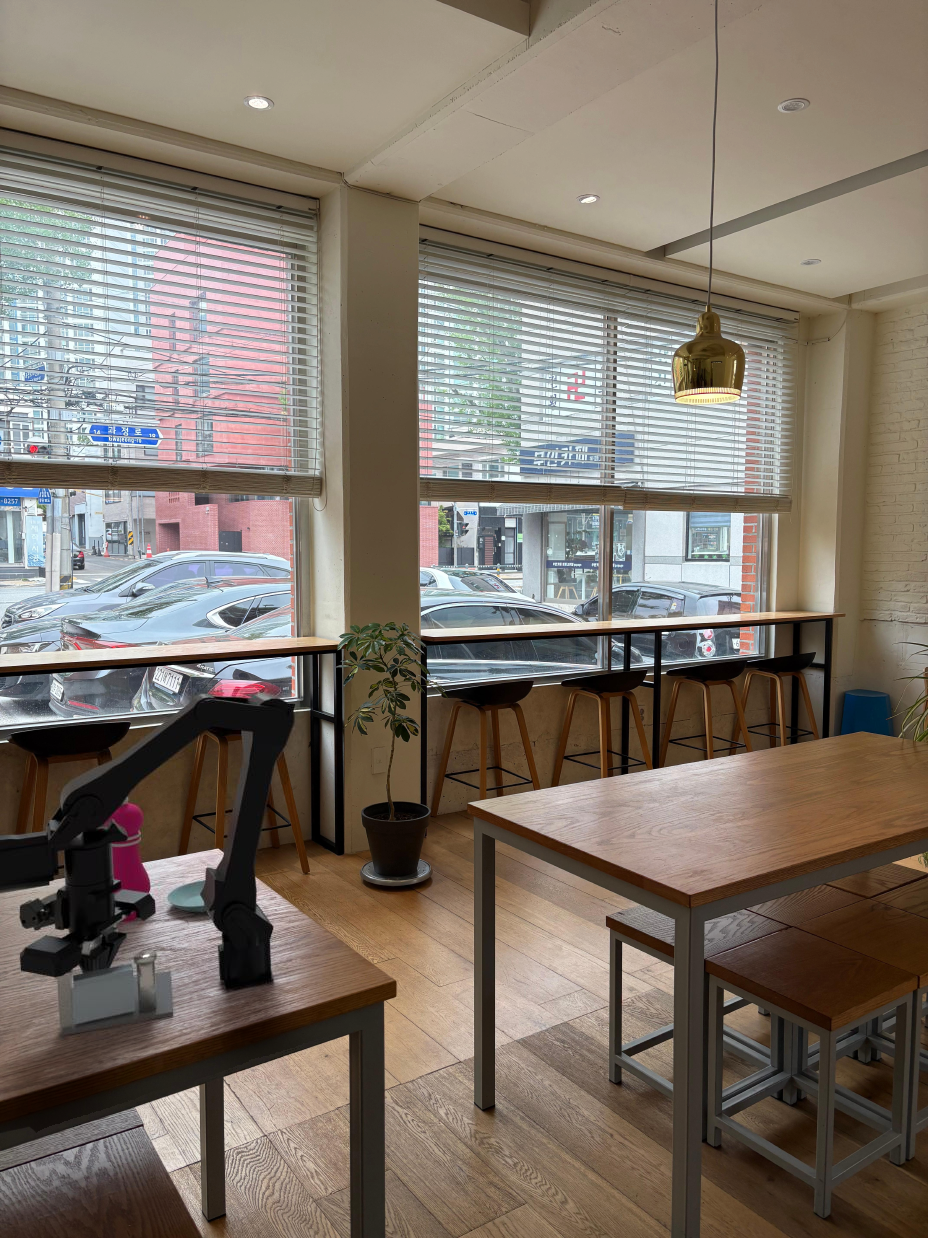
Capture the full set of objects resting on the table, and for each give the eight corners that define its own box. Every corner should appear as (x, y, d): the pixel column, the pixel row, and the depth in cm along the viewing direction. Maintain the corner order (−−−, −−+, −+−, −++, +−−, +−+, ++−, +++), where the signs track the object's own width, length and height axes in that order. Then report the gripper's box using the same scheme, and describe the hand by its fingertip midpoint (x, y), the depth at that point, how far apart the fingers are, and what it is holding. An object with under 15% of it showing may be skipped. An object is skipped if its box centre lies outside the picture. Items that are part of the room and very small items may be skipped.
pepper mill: (136, 925, 143) (129, 801, 141) (95, 922, 144) (88, 800, 143) (160, 907, 150) (154, 789, 148) (121, 904, 151) (115, 788, 150)
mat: (170, 974, 125) (170, 971, 125) (172, 1015, 114) (172, 1011, 114) (69, 991, 121) (69, 988, 121) (61, 1036, 110) (61, 1032, 110)
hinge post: (159, 1005, 117) (156, 949, 116) (159, 1015, 114) (156, 958, 113) (136, 1009, 116) (133, 952, 115) (136, 1020, 113) (133, 961, 113)
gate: (133, 1005, 115) (131, 963, 115) (135, 1011, 113) (132, 969, 113) (75, 1018, 112) (72, 975, 112) (76, 1024, 110) (73, 981, 110)
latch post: (76, 1019, 114) (73, 961, 113) (74, 1032, 111) (70, 972, 110) (60, 1022, 113) (57, 964, 112) (58, 1035, 110) (54, 975, 109)
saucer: (170, 924, 143) (169, 910, 143) (165, 898, 154) (164, 885, 154) (245, 912, 148) (244, 898, 147) (235, 887, 158) (235, 875, 158)
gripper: (88, 844, 125) (93, 950, 127) (-21, 899, 108) (-13, 1021, 109) (156, 853, 122) (160, 962, 124) (55, 911, 104) (62, 1037, 106)
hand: (95, 993), depth 116 cm, fingers closed
